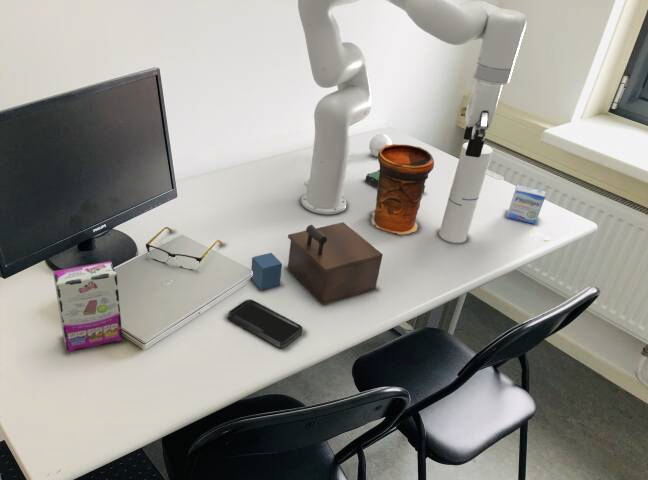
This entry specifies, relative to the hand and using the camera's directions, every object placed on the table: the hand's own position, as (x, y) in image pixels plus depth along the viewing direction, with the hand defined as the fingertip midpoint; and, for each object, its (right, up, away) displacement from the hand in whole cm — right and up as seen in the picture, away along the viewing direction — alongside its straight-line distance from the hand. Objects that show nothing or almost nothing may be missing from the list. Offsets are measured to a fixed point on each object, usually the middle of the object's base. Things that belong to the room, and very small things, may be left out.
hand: (471, 147), depth 150 cm
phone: (-48, -40, -12) cm, 63 cm away
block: (-47, -31, +1) cm, 56 cm away
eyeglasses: (-67, -23, +10) cm, 71 cm away
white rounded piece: (-8, +11, +63) cm, 65 cm away
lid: (-32, -23, -1) cm, 39 cm away
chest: (-32, -30, +4) cm, 44 cm away
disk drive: (-8, -1, +46) cm, 47 cm away
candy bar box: (-82, -43, -19) cm, 95 cm away
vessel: (-12, -14, +28) cm, 34 cm away
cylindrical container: (+3, -18, +25) cm, 31 cm away
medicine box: (+26, -12, +36) cm, 46 cm away
